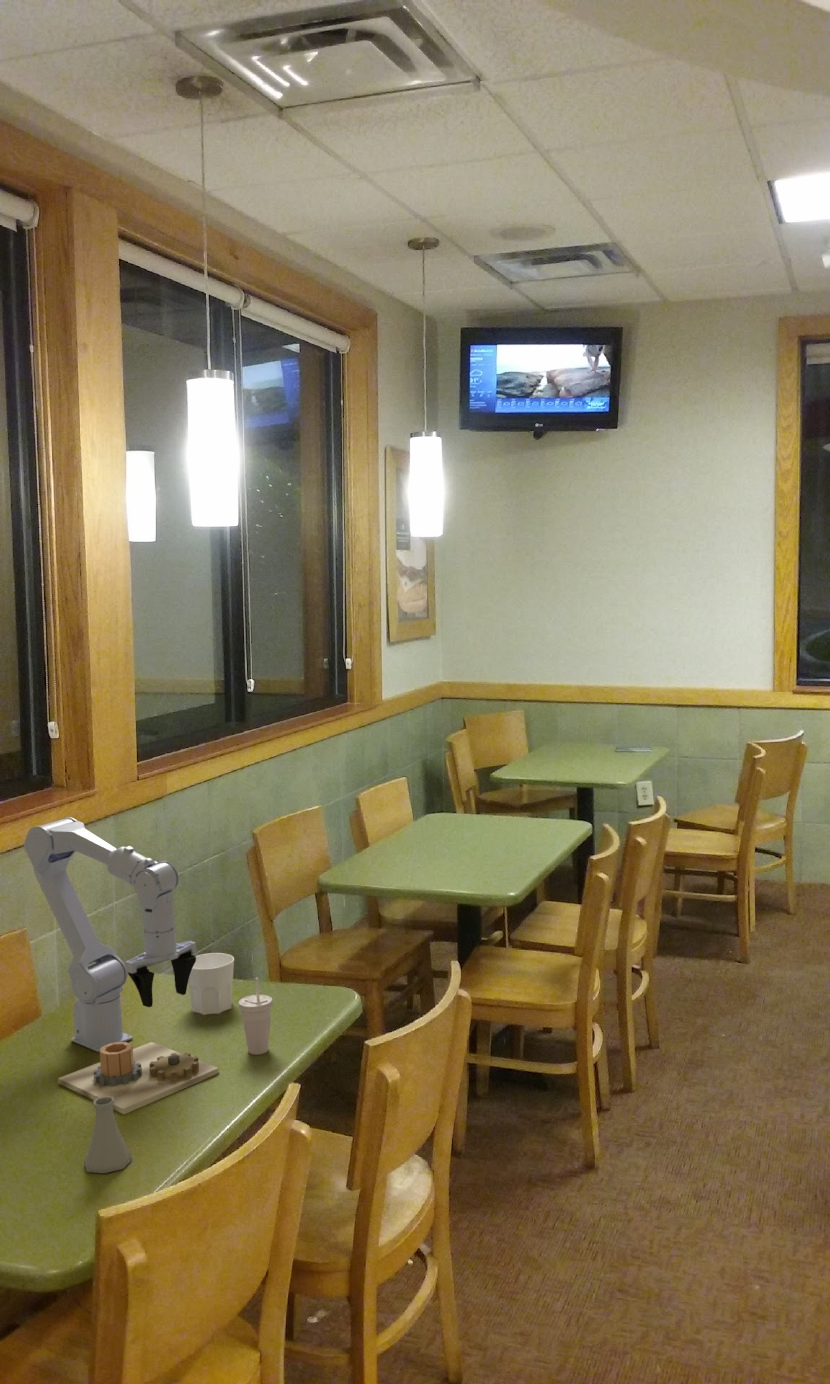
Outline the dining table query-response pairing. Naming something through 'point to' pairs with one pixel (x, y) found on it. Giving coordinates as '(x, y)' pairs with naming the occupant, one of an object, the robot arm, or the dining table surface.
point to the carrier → (144, 1078)
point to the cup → (211, 983)
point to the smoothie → (256, 1020)
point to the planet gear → (117, 1065)
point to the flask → (106, 1141)
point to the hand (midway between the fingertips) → (164, 999)
